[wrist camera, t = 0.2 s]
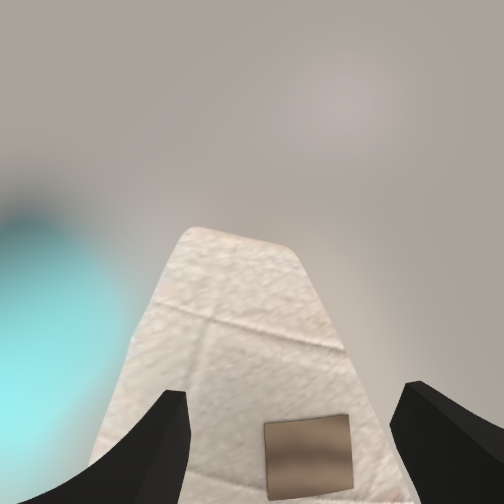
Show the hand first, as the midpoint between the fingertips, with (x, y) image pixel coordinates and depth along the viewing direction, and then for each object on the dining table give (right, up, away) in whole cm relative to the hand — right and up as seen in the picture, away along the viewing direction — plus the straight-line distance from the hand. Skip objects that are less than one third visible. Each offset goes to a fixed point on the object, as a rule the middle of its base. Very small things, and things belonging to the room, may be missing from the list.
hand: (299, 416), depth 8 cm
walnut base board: (+6, -21, +23) cm, 32 cm away
